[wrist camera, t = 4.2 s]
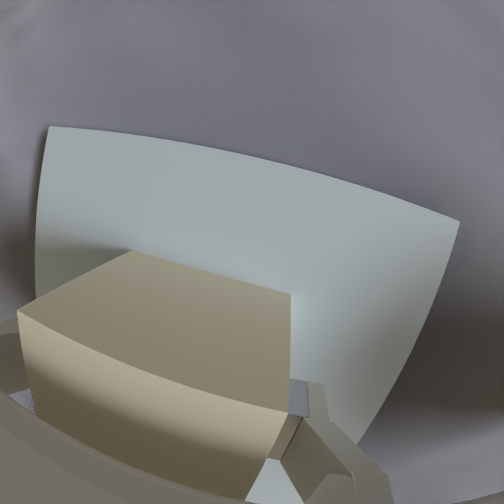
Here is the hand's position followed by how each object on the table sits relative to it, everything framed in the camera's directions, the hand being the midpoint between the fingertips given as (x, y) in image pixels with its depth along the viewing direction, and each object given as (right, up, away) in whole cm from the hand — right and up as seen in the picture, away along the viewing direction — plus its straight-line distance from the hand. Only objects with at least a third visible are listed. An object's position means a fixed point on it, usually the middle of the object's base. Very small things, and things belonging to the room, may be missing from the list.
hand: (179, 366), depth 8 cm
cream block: (0, 0, +1) cm, 1 cm away
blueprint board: (-1, -6, +5) cm, 8 cm away
